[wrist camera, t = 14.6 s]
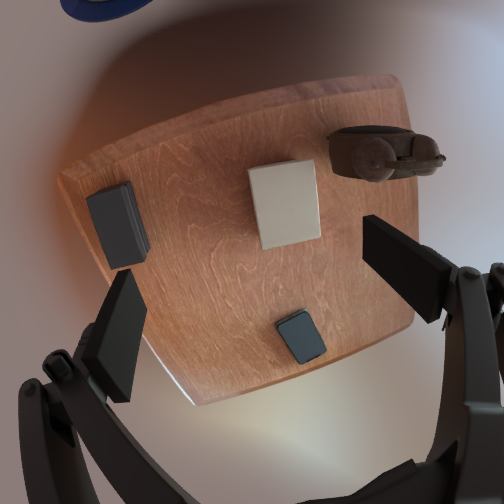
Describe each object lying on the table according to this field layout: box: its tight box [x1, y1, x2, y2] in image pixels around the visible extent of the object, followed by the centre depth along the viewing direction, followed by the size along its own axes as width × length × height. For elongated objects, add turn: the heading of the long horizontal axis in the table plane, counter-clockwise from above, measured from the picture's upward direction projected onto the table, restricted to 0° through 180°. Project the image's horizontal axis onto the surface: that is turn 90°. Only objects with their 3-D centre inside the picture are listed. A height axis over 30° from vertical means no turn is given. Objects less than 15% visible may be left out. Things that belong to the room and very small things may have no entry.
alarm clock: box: [326, 125, 446, 183], centre depth 36 cm, size 14×7×20 cm, turn 100°
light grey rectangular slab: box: [247, 158, 321, 250], centre depth 44 cm, size 13×10×2 cm
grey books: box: [86, 181, 150, 270], centre depth 41 cm, size 12×6×6 cm, turn 10°
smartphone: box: [276, 309, 327, 364], centre depth 60 cm, size 8×2×15 cm
